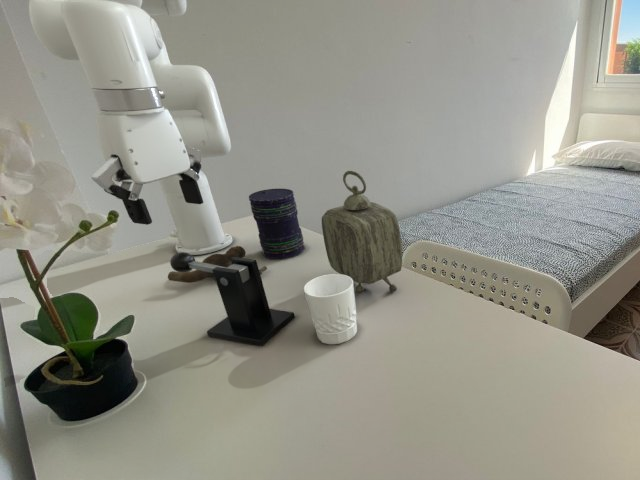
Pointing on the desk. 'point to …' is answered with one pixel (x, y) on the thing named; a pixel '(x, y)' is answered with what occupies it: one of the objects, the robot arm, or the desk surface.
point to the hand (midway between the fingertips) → (170, 212)
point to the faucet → (214, 259)
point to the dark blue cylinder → (277, 223)
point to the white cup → (332, 307)
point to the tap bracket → (246, 307)
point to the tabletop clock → (362, 239)
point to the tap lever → (202, 265)
